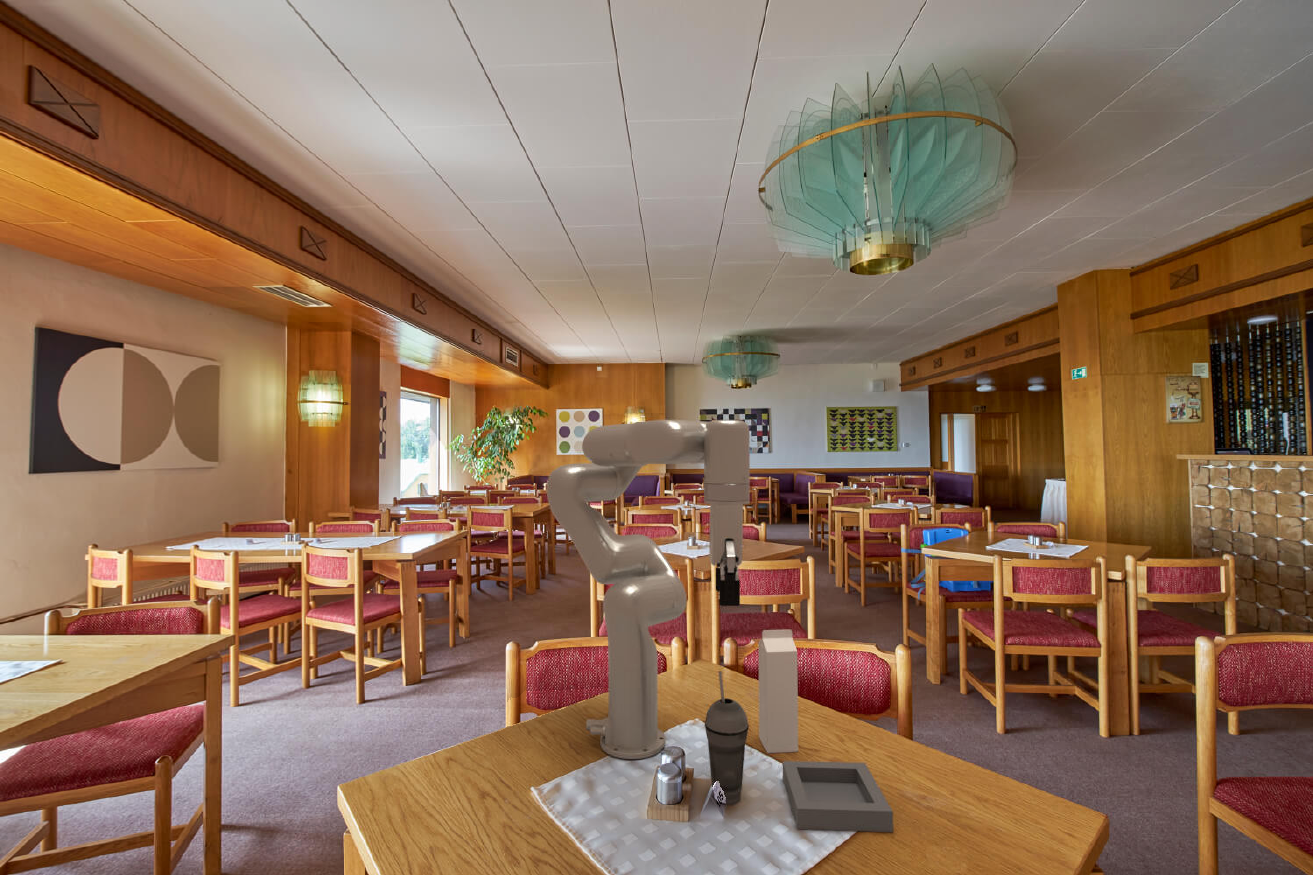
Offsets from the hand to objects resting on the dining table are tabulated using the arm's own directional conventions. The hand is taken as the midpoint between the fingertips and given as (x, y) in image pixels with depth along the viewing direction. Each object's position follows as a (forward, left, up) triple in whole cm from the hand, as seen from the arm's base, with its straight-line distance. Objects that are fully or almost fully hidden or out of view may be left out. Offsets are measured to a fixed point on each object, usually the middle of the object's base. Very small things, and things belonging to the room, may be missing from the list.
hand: (727, 597), depth 99 cm
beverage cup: (0, 0, -32) cm, 32 cm away
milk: (+11, +18, -32) cm, 39 cm away
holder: (+17, -1, -32) cm, 36 cm away
